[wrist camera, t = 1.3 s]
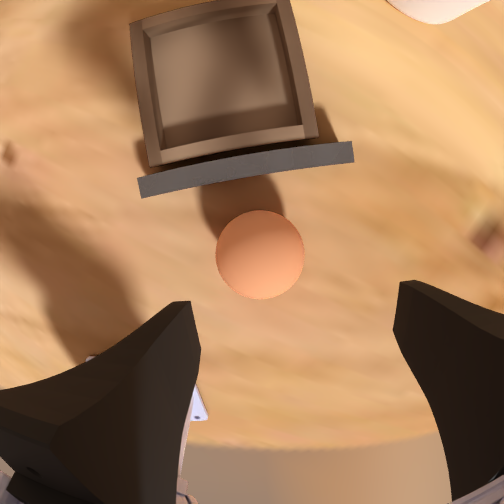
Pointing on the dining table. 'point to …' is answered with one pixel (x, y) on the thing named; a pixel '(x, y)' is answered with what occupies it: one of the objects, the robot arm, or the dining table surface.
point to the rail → (246, 167)
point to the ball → (260, 254)
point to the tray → (220, 79)
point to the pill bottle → (435, 9)
